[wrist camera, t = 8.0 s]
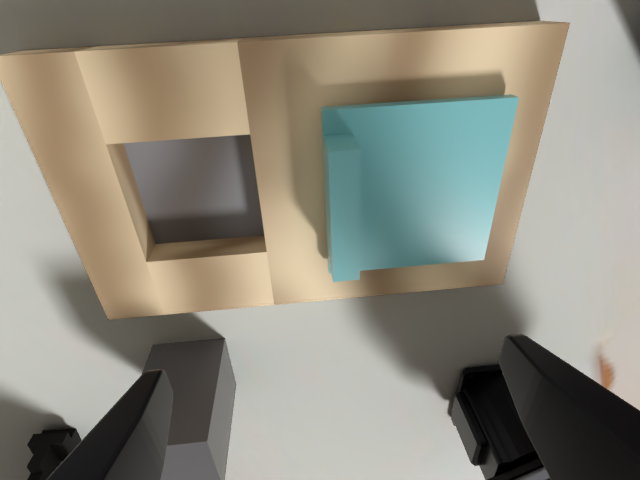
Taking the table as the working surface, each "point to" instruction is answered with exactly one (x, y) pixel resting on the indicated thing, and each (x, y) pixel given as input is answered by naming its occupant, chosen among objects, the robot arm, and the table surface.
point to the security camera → (50, 451)
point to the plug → (197, 407)
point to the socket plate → (253, 154)
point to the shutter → (412, 180)
